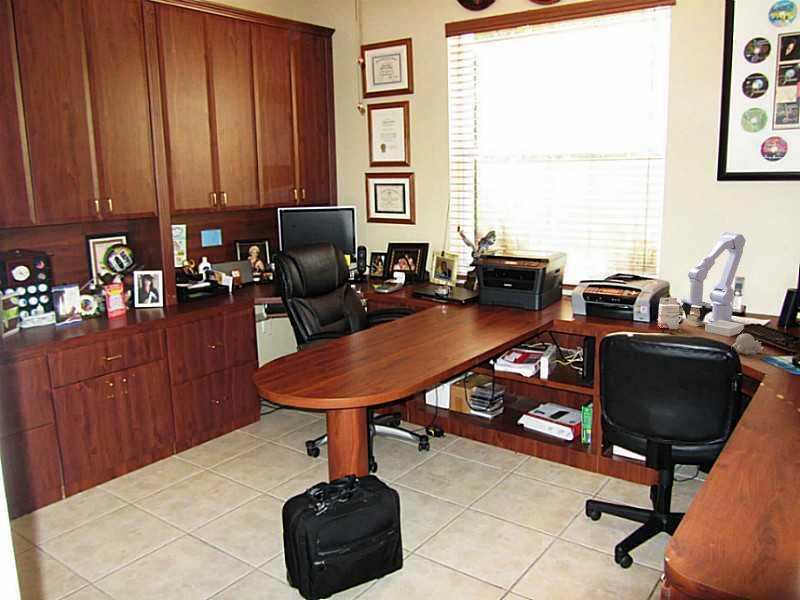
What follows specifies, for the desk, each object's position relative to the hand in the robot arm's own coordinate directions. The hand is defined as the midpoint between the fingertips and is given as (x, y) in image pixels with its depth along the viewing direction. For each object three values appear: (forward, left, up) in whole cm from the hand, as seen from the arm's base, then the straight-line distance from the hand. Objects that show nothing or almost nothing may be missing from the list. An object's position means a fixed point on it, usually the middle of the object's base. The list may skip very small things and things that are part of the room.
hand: (694, 319), depth 328 cm
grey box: (+1, +16, -3) cm, 16 cm away
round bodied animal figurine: (+25, +41, -3) cm, 48 cm away
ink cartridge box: (+14, -5, -3) cm, 15 cm away
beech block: (0, 0, -3) cm, 3 cm away
